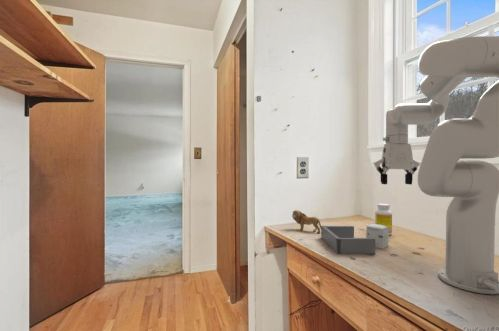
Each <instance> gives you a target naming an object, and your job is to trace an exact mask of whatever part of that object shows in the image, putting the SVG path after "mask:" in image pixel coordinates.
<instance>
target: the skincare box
mask: <svg viewBox="0 0 499 331" xmlns="http://www.w3.org/2000/svg"><path fill="white" fill-rule="evenodd" d="M365 232H366V233H365V235H366V236H365V238H374V239H375V248H377V247H378V249H381V250H383V249H385V248H386V246H387V247H388V246H389V243H390V242H389V238H390V235H389V226H383V225H378V224H375V223H370V224H368V225H366V231H365ZM384 247H385V248H384Z"/></svg>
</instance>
